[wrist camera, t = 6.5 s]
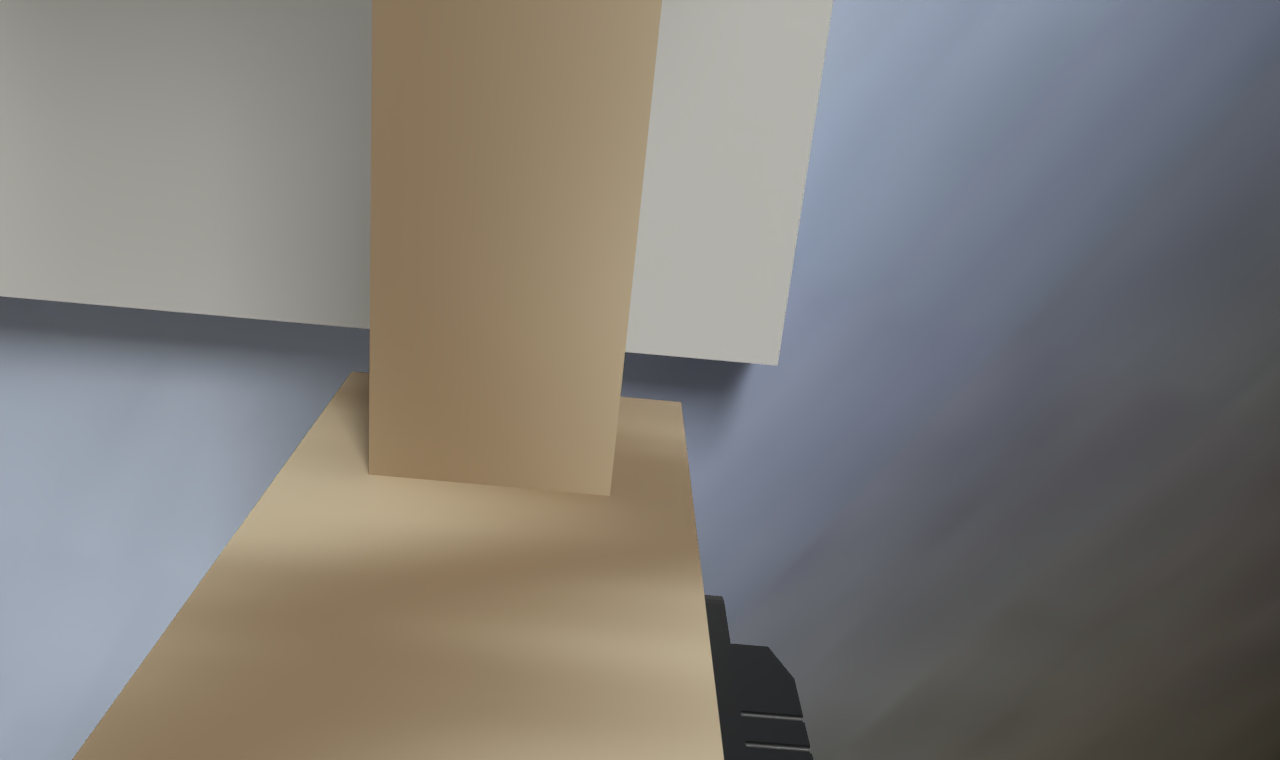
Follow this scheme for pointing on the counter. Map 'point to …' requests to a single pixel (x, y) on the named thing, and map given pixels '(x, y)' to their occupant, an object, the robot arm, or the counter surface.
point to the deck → (368, 163)
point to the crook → (468, 446)
